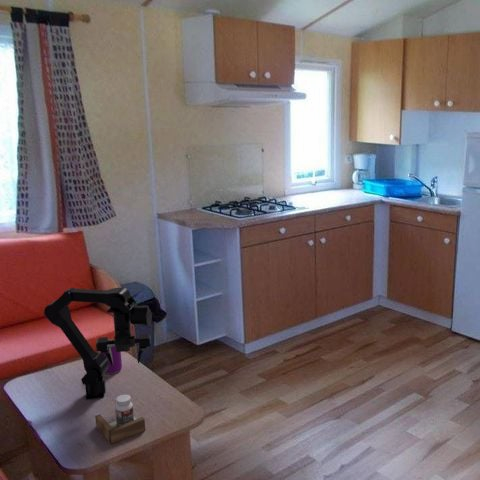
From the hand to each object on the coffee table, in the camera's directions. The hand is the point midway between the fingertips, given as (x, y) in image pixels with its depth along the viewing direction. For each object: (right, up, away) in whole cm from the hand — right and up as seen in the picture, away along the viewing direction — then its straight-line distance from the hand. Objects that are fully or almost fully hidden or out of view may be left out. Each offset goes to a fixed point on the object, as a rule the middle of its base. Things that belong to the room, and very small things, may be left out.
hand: (125, 363), depth 189 cm
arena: (+2, -17, -16) cm, 24 cm away
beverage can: (-10, -8, +23) cm, 27 cm away
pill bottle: (+3, -17, -15) cm, 23 cm away
